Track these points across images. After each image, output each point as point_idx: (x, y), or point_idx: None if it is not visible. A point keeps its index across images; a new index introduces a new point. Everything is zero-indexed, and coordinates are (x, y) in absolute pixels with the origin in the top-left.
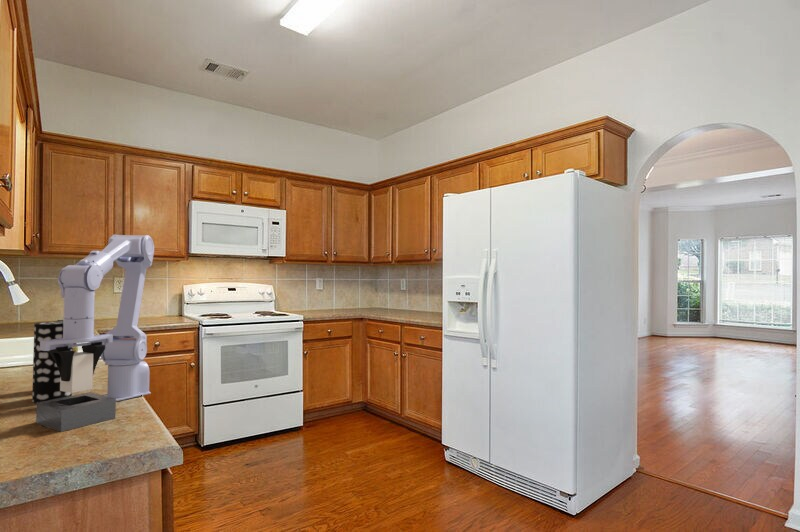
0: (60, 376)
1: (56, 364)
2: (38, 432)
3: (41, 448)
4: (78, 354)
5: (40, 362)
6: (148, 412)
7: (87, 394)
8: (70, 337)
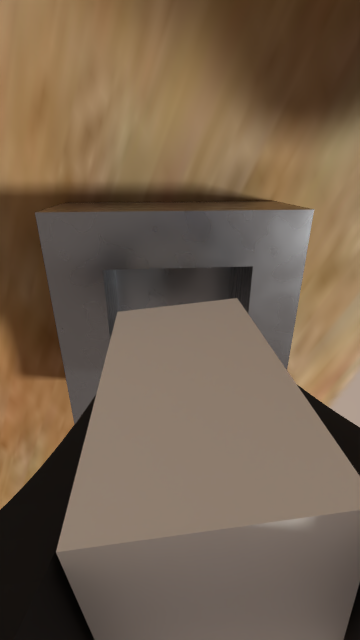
0: (88, 406)
1: (23, 488)
2: (41, 331)
3: (14, 463)
4: (220, 631)
5: None
6: (341, 390)
7: (272, 254)
8: None
